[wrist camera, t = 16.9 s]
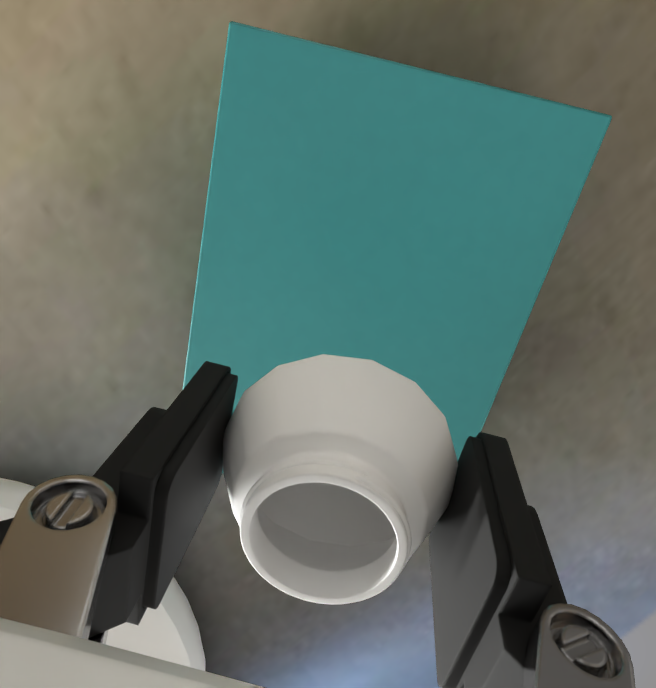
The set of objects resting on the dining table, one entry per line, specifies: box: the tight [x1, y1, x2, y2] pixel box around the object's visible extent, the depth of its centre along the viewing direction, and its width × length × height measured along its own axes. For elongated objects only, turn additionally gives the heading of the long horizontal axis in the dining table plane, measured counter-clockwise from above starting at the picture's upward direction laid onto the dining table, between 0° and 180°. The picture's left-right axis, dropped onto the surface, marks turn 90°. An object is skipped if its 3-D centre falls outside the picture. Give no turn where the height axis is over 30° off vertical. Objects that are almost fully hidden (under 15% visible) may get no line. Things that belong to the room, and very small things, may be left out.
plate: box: [0, 478, 206, 671], centre depth 36 cm, size 28×6×27 cm
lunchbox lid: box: [183, 21, 612, 473], centre depth 19 cm, size 16×12×1 cm
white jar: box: [223, 354, 458, 604], centre depth 11 cm, size 5×3×5 cm
